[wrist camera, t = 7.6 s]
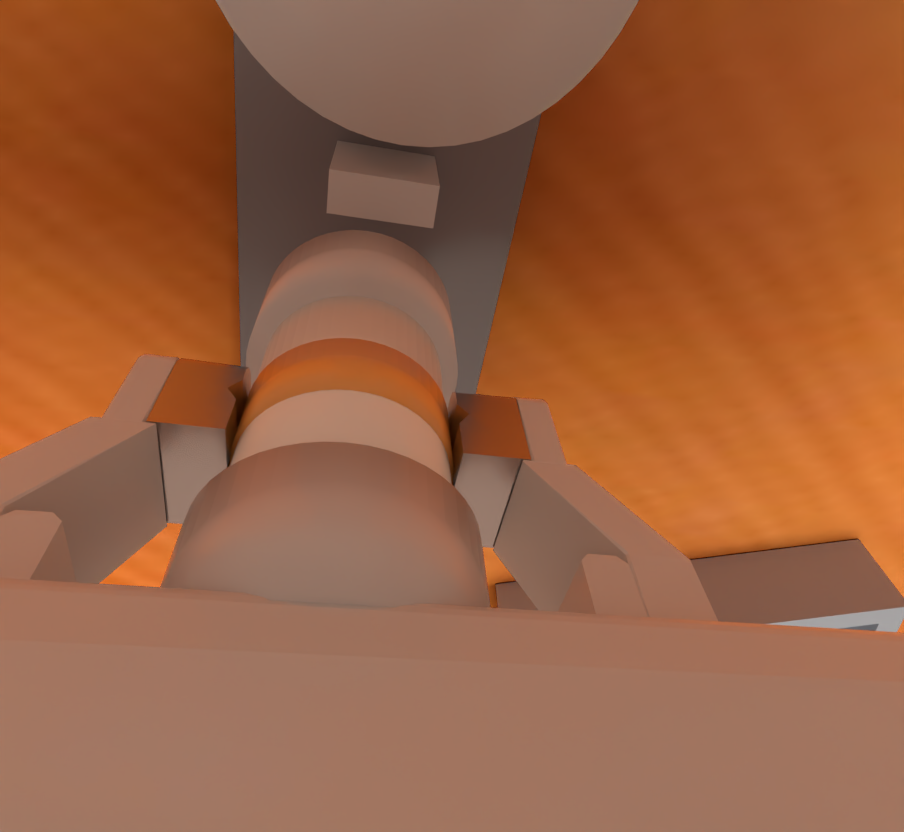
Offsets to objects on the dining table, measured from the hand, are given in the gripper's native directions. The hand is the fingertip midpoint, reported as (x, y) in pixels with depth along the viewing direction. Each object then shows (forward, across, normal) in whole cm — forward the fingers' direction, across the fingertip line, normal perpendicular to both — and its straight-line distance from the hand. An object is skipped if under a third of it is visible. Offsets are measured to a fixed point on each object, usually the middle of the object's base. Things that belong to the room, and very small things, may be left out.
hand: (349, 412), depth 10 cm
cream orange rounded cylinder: (+3, 0, 0) cm, 3 cm away
